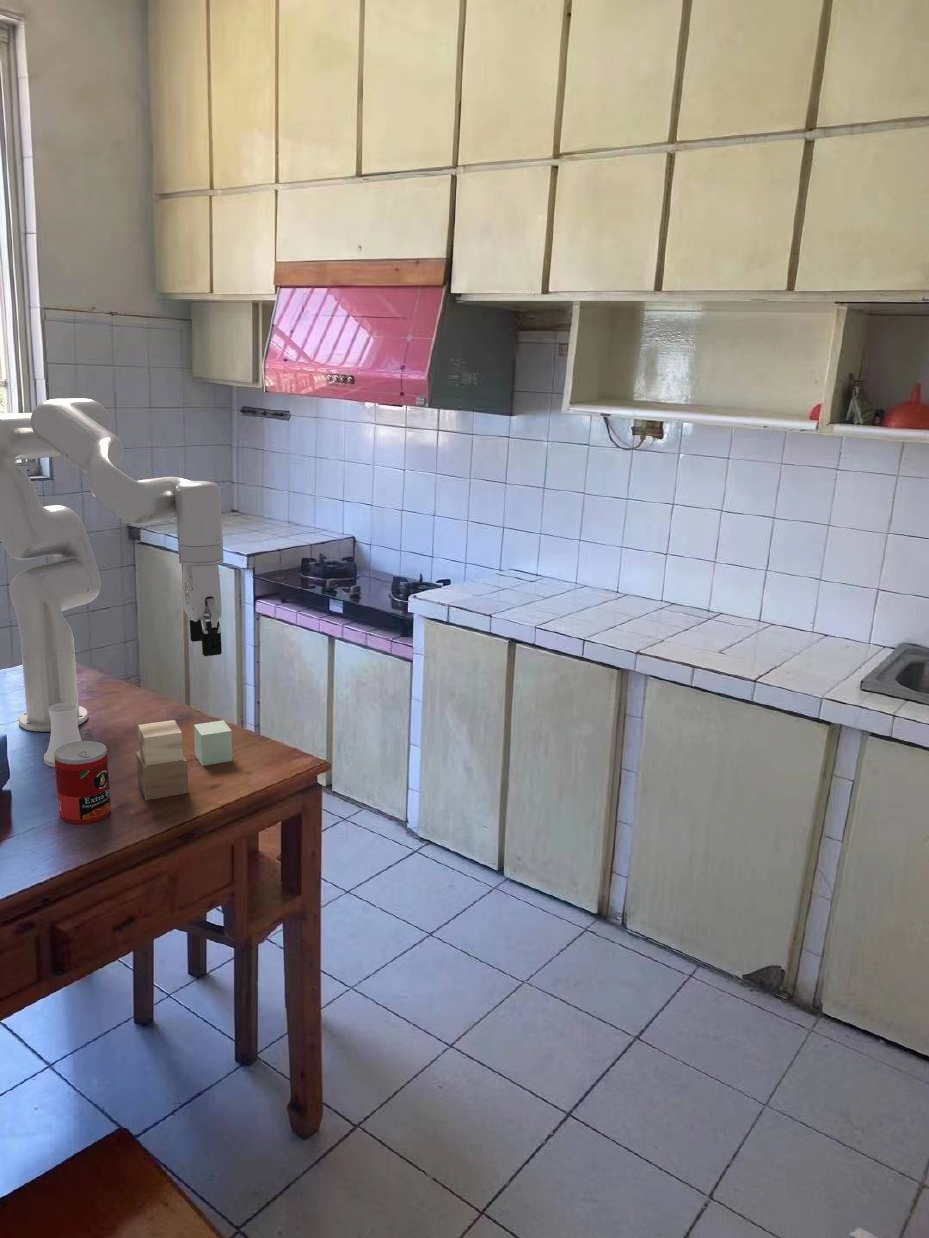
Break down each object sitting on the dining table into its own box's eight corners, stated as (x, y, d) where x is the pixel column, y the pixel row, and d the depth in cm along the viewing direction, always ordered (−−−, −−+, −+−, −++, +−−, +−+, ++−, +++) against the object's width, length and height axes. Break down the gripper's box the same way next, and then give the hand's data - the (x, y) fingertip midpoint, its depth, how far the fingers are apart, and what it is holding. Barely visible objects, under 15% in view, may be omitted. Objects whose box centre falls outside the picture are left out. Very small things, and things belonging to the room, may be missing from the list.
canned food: (87, 829, 143) (82, 763, 140) (47, 818, 146) (42, 754, 143) (122, 808, 150) (118, 746, 147) (83, 798, 153) (78, 737, 150)
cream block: (137, 783, 159) (136, 751, 157) (179, 776, 162) (177, 745, 161) (145, 800, 153) (143, 767, 151) (188, 793, 156) (187, 760, 155)
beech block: (139, 752, 157) (138, 724, 156) (175, 746, 160) (174, 719, 159) (145, 765, 152) (144, 737, 151) (183, 759, 155) (181, 732, 153)
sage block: (195, 754, 171) (193, 724, 170) (224, 749, 174) (223, 720, 172) (202, 766, 167) (201, 735, 165) (232, 760, 169) (231, 730, 168)
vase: (48, 770, 162) (44, 717, 159) (40, 755, 168) (36, 703, 165) (93, 762, 166) (89, 710, 163) (84, 747, 172) (80, 697, 169)
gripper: (169, 546, 165) (174, 637, 170) (189, 564, 151) (194, 663, 155) (211, 543, 169) (215, 633, 173) (235, 560, 154) (239, 658, 158)
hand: (205, 647), depth 164 cm, fingers open, 9 cm apart
